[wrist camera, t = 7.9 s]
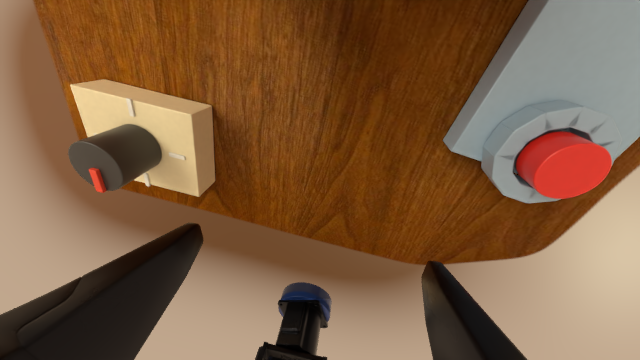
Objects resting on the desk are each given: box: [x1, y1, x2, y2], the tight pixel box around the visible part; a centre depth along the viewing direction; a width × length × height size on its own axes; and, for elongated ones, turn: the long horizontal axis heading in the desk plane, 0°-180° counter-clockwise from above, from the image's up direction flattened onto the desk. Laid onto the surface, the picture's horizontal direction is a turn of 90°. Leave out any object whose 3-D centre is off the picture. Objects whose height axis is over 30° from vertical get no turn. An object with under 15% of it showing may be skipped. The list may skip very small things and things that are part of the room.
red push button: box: [516, 132, 612, 199], centre depth 14 cm, size 4×4×2 cm
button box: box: [443, 0, 640, 203], centre depth 13 cm, size 19×10×4 cm, turn 164°
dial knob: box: [68, 124, 162, 193], centre depth 19 cm, size 4×4×4 cm
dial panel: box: [70, 79, 215, 197], centre depth 22 cm, size 10×8×3 cm
